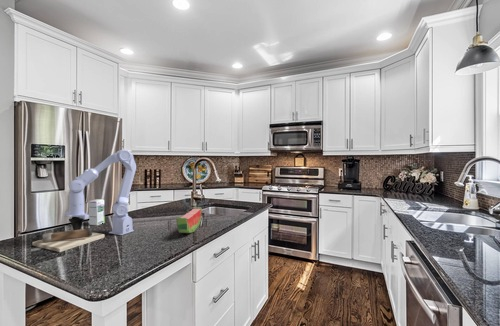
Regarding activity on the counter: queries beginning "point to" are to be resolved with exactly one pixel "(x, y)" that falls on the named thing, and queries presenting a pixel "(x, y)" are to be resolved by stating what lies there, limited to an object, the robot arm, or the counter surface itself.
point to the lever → (66, 234)
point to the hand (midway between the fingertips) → (77, 232)
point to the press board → (67, 242)
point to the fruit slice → (189, 221)
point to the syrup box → (96, 212)
